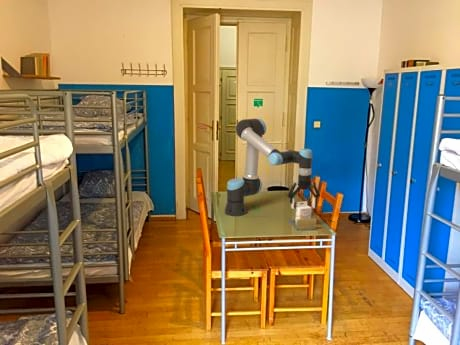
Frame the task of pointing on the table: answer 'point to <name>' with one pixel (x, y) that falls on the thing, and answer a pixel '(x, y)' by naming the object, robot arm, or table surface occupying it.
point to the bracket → (304, 224)
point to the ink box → (302, 211)
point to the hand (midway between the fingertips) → (303, 207)
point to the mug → (303, 203)
